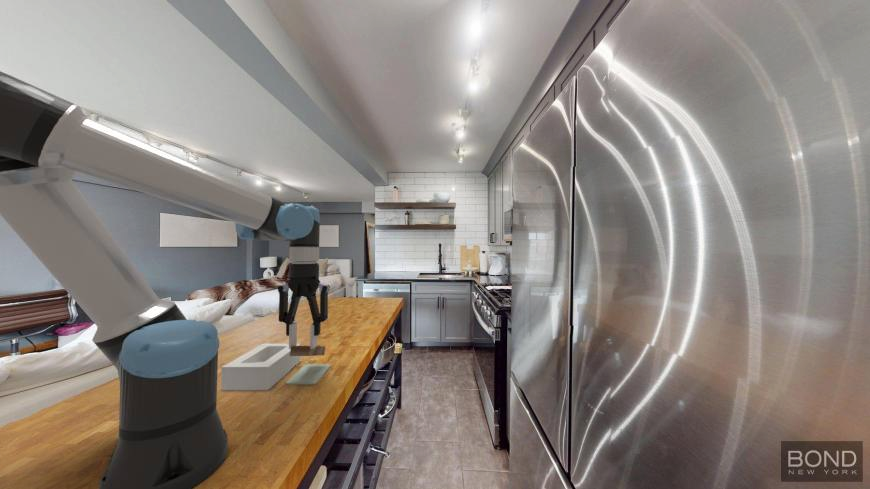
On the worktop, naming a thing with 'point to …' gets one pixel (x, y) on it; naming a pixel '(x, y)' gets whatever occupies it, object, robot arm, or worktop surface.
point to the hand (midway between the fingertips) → (303, 347)
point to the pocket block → (258, 368)
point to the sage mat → (308, 374)
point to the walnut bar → (307, 351)
